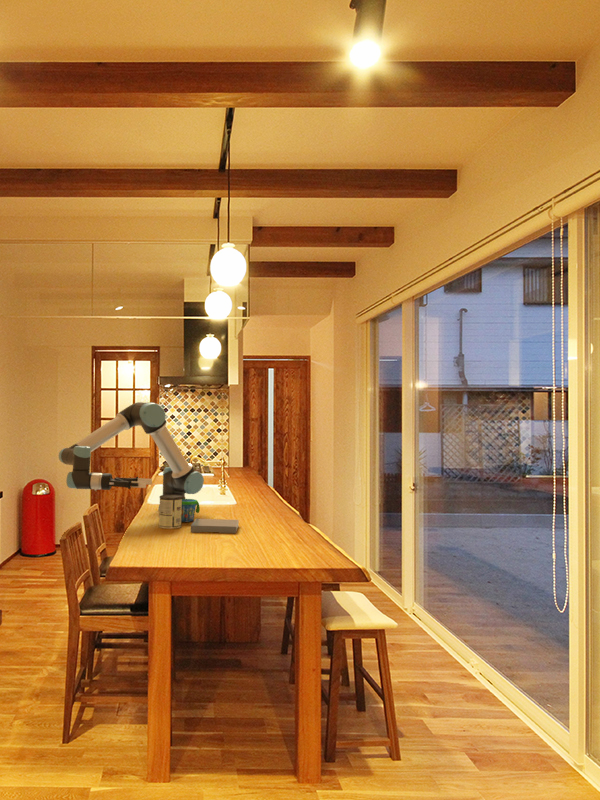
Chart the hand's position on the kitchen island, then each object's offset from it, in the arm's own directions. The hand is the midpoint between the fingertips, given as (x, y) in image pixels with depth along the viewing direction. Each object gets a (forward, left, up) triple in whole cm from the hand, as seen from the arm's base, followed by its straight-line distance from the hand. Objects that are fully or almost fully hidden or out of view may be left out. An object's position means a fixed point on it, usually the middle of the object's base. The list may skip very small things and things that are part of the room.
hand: (149, 483), depth 305 cm
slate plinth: (+3, +31, -20) cm, 37 cm away
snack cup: (-16, +15, -20) cm, 30 cm away
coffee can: (0, +10, -20) cm, 22 cm away
